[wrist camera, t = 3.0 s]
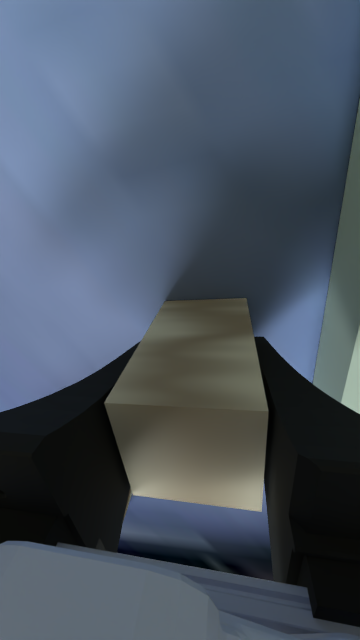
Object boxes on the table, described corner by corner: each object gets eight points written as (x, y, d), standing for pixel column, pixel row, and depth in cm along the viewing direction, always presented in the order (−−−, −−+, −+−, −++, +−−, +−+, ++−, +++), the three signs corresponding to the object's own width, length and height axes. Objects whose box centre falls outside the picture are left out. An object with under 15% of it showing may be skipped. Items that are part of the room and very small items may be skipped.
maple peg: (246, 297, 12) (268, 411, 5) (245, 366, 13) (261, 511, 7) (165, 300, 12) (104, 402, 6) (173, 365, 14) (133, 494, 8)
